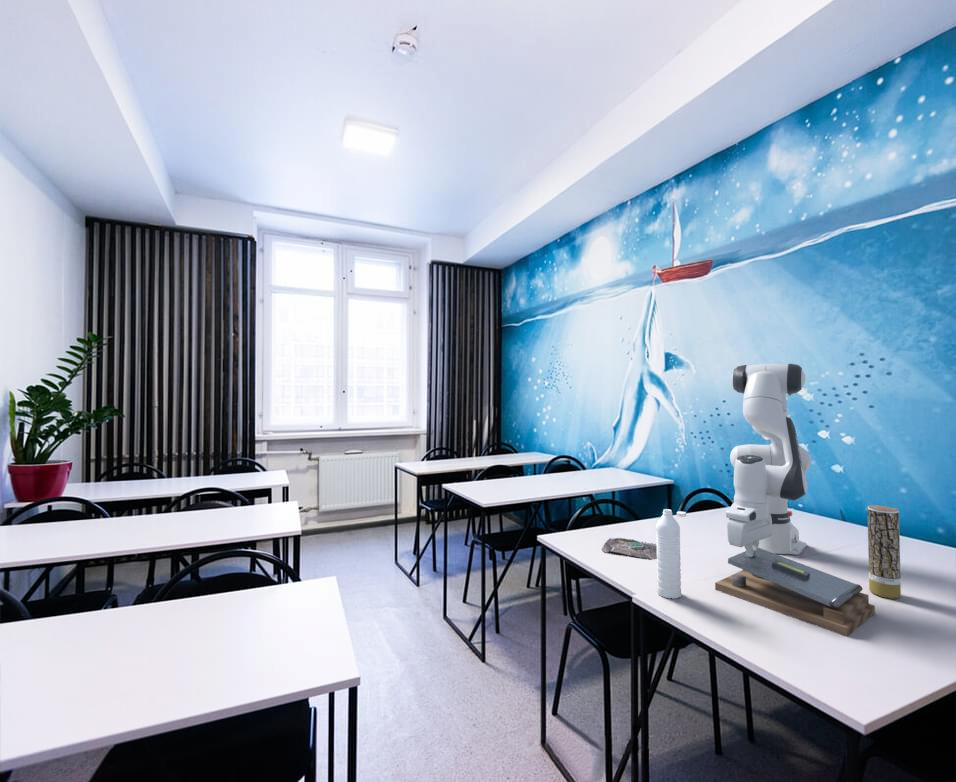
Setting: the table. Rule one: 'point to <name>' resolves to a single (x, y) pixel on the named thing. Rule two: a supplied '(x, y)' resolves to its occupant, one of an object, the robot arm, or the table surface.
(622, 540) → the terrain model
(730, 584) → the leveling base
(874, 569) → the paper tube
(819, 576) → the plate
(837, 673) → the table surface
